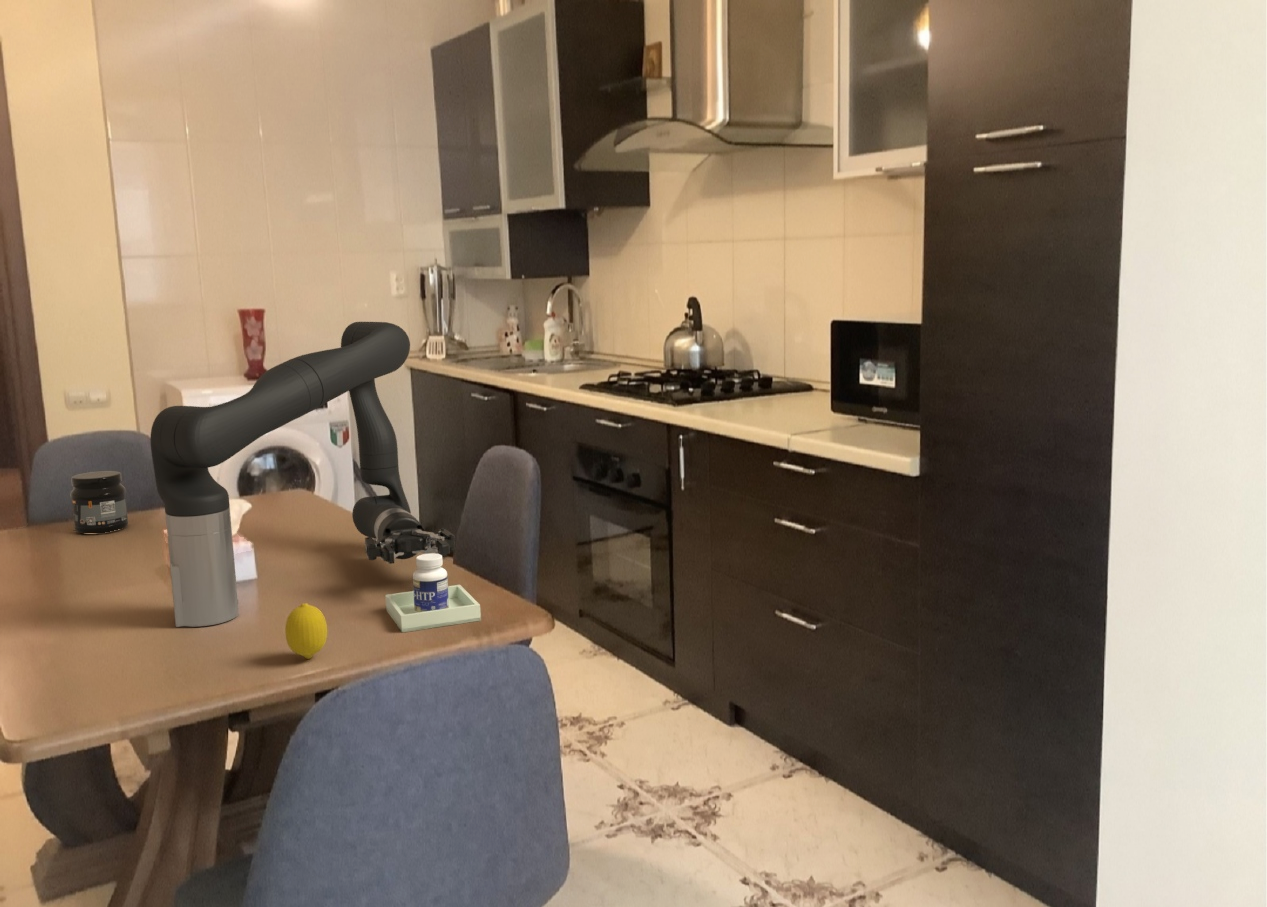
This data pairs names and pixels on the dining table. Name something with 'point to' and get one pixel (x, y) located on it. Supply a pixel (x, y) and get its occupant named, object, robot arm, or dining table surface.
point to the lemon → (306, 630)
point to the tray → (458, 612)
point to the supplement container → (98, 502)
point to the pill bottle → (430, 584)
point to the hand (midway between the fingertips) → (418, 554)
